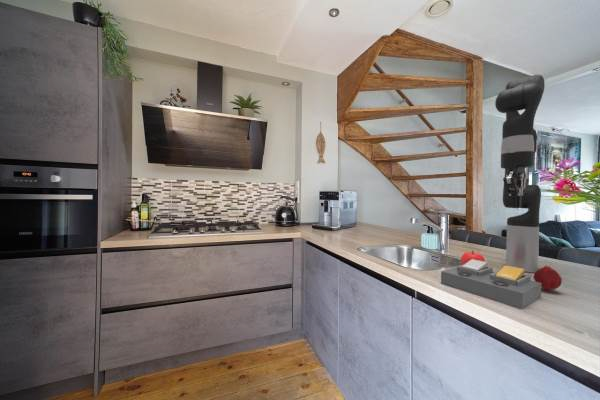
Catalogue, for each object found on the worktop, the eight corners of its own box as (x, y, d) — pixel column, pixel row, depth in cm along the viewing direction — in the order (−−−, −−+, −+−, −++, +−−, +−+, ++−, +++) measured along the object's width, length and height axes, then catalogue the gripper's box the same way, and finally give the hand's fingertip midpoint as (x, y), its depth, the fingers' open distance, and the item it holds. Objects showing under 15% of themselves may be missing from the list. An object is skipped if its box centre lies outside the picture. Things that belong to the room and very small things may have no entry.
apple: (464, 273, 86) (464, 252, 86) (456, 267, 94) (457, 247, 94) (489, 276, 84) (490, 253, 84) (480, 269, 91) (480, 249, 91)
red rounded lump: (567, 295, 67) (568, 268, 67) (543, 293, 68) (544, 266, 68) (550, 287, 73) (550, 262, 73) (528, 286, 74) (529, 261, 74)
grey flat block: (462, 275, 83) (463, 261, 83) (541, 296, 66) (541, 278, 66) (440, 283, 76) (441, 267, 76) (522, 309, 59) (522, 288, 59)
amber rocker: (505, 268, 72) (505, 265, 72) (524, 272, 68) (524, 268, 68) (496, 278, 69) (495, 275, 69) (515, 283, 65) (515, 279, 65)
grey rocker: (472, 262, 80) (471, 258, 80) (487, 265, 76) (487, 262, 76) (462, 269, 76) (461, 266, 76) (477, 273, 73) (477, 269, 73)
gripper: (509, 156, 79) (508, 207, 79) (492, 151, 72) (491, 207, 72) (540, 152, 72) (539, 208, 73) (525, 147, 66) (524, 209, 66)
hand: (515, 208), depth 72 cm, fingers closed
